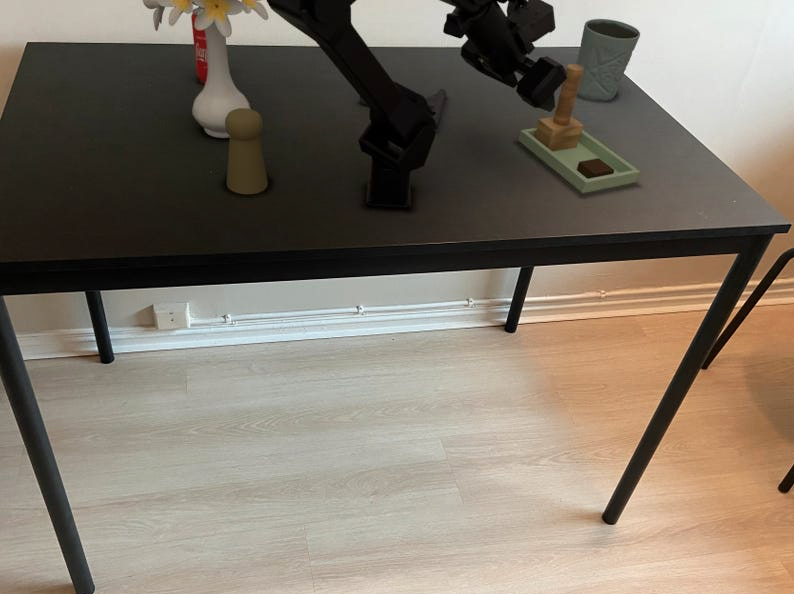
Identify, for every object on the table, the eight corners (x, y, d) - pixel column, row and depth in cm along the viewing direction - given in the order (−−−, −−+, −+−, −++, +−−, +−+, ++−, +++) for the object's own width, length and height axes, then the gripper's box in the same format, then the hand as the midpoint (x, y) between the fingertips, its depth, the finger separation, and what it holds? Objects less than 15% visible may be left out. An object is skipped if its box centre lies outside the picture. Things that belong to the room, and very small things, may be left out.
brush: (546, 152, 117) (567, 74, 108) (532, 141, 120) (551, 63, 111) (577, 147, 119) (599, 70, 110) (562, 136, 122) (583, 60, 113)
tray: (635, 185, 112) (640, 171, 111) (581, 196, 109) (585, 182, 107) (568, 134, 124) (571, 121, 122) (517, 143, 120) (520, 129, 119)
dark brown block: (611, 178, 112) (614, 169, 111) (591, 182, 111) (594, 173, 110) (596, 166, 115) (598, 157, 114) (576, 170, 114) (578, 161, 112)
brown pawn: (250, 198, 102) (246, 126, 95) (218, 185, 104) (211, 113, 97) (276, 182, 106) (274, 111, 98) (244, 169, 108) (240, 99, 100)
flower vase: (159, 117, 119) (134, -50, 102) (268, 110, 123) (262, -51, 106) (164, 154, 110) (139, -22, 93) (282, 145, 114) (278, -24, 97)
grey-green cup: (564, 79, 142) (580, 16, 134) (614, 83, 142) (633, 20, 134) (573, 101, 135) (590, 35, 126) (625, 105, 135) (646, 40, 127)
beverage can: (232, 79, 132) (227, 11, 123) (213, 88, 128) (207, 18, 120) (210, 72, 133) (204, 4, 125) (191, 80, 130) (184, 11, 122)
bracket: (367, 87, 133) (368, 72, 131) (445, 98, 132) (447, 83, 130) (352, 120, 123) (352, 104, 121) (436, 132, 121) (438, 117, 120)
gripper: (575, 4, 91) (613, 78, 103) (490, -37, 102) (533, 34, 114) (513, 73, 93) (557, 138, 105) (437, 25, 105) (485, 89, 117)
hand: (533, 97), depth 110 cm, fingers open, 9 cm apart
